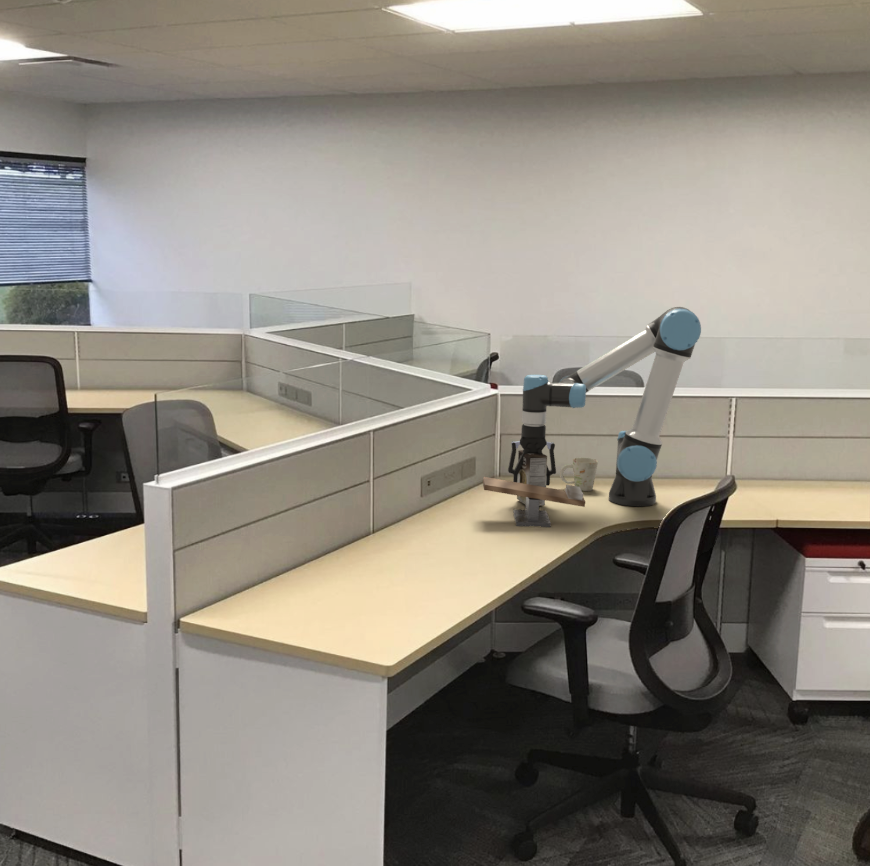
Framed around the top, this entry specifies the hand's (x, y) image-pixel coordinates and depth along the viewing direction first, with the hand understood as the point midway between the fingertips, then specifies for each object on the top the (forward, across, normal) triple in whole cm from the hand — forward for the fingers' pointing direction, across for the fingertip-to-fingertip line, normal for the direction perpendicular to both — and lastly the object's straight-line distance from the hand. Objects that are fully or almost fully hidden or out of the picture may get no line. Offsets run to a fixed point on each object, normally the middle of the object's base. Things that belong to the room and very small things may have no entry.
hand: (531, 494), depth 319 cm
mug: (+3, -18, -22) cm, 28 cm away
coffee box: (+3, 0, 0) cm, 3 cm away
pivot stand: (+3, +1, +19) cm, 19 cm away
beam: (-5, +1, +19) cm, 20 cm away
